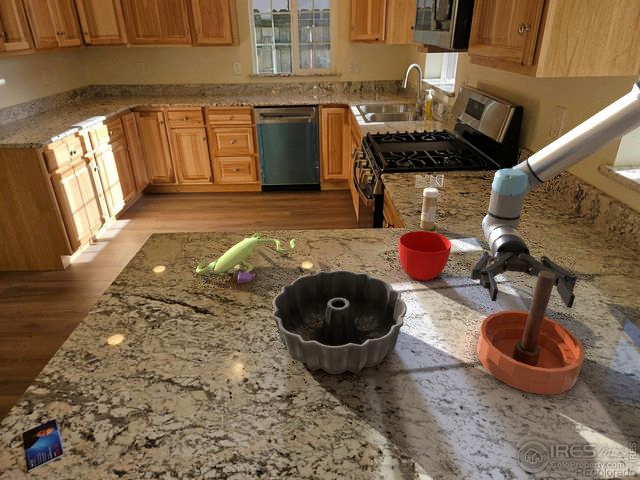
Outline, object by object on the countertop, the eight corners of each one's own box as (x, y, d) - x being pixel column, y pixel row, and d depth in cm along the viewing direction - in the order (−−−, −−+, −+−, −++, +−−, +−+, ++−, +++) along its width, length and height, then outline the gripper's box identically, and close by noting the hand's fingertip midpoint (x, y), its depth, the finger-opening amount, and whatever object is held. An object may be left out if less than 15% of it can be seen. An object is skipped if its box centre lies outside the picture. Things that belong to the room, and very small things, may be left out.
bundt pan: (259, 383, 78) (255, 340, 73) (288, 302, 101) (286, 266, 97) (405, 398, 74) (410, 353, 70) (400, 310, 98) (404, 273, 94)
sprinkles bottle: (417, 226, 141) (421, 188, 135) (430, 225, 142) (434, 186, 136) (423, 232, 137) (428, 192, 131) (436, 230, 138) (441, 191, 132)
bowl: (577, 351, 85) (585, 327, 82) (573, 412, 71) (583, 385, 69) (486, 324, 93) (491, 301, 90) (467, 374, 80) (471, 349, 77)
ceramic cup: (455, 264, 117) (461, 231, 113) (438, 293, 104) (442, 258, 100) (411, 253, 123) (414, 222, 119) (388, 280, 110) (391, 245, 106)
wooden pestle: (538, 356, 83) (562, 272, 74) (536, 370, 79) (560, 283, 71) (514, 349, 85) (534, 265, 76) (510, 362, 81) (531, 276, 73)
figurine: (305, 256, 122) (305, 238, 120) (233, 296, 104) (231, 276, 101) (261, 238, 133) (260, 222, 131) (189, 272, 114) (186, 253, 112)
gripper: (561, 266, 99) (598, 321, 80) (451, 258, 103) (461, 308, 84) (569, 237, 96) (610, 287, 77) (455, 230, 100) (467, 276, 81)
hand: (532, 298), depth 81 cm, fingers open, 13 cm apart
